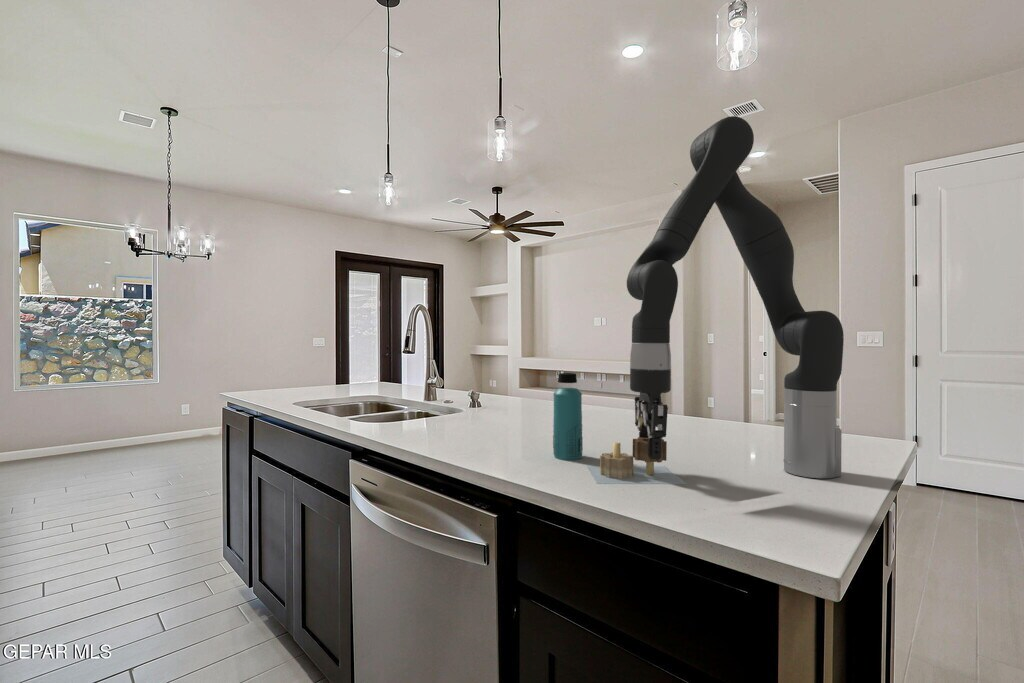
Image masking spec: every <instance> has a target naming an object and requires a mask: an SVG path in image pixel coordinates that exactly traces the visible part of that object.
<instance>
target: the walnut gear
mask: <svg viewBox="0 0 1024 683" xmlns="http://www.w3.org/2000/svg"><path fill="white" fill-rule="evenodd" d="M667 445H668V443H667V441H665V439H664V438H663V439H661V458H660V459H650V458H649V457H648V438H642V437H639V436H638V437H637V438H632V456H633V459H634V460H635V461H642V462H644V463H646V462H649V463H650V462H654V463H663V461H664V462H665V461H666V462H667V456H668V455H667V451H668V450H667V448H668V447H667Z"/></svg>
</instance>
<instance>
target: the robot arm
mask: <svg viewBox="0 0 1024 683" xmlns="http://www.w3.org/2000/svg"><path fill="white" fill-rule="evenodd" d="M754 136H755V135H754V131H753V129H752V126H751V124H750V123H749V122H748V121H746V120H745V119H744V118H742V117H740V116H733V115H732V116H727V117H723V118H722V119H720V120H718V121H717V122H714V123H713V124H712V125H711V126H709V127H708V128H707V129H706V130H704V131H703V132H701V133H700V134H699V135H698V136H697V137H695V138H694V140H693V141H692V143H691V145H690V149H689V156H690V157H689V158H690V161H691V164H692V167H693V169H694V170H695V174H694V176H693V178H692V179H691V180H690V181H689V183H688V184H687V185H686V187H685V188H684V190H683V191H682V192H681V193H680V195H678V197H677V198H676V199H675V201H674V202H673V203H672V205H671V206H670V208H669V210H668V211H667V212H666V214H665V216H664V217H663V219H662V220H661V222H660V225H659V226H658V228H657V229H656V232H655V234H654V236H653V239H652V240H651V241H650V243H649V244H648V245H647V246H646V247H645V248H644V250H643V251H642V253H641V254H640V255H639V257H638V258H637V259H636V261H635V262H634V263H633V265H632V266H631V268H630V270H629V272H628V275H627V278H626V289H627V292H628V294H629V295H630V296H631V297H632V298H634V299H635V300H638V301H641V306H640V310H639V312H637V313H635V315H634V316H633V318H632V322H631V349H630V355H629V357H630V359H629V362H630V363H629V364H630V365H629V389H630V391H632V392H634V393H639V396H635V397H634V413H635V415H634V418H635V419H634V420H635V421H634V424H635V427H637V431H638V437H642V438H648V457H649V458H650V459H660V458H661V439H664V438H666V437H667V428H668V427H667V426H668V409H669V407H668V404H664V403H663V401H662V394H667V393H670V392H671V390H672V387H671V386H672V377H671V376H672V353H671V352H672V351H671V344H670V343H671V340H670V339H671V337H670V336H671V335H670V334H671V324H670V322H671V319H672V316H673V311H674V308H675V304H676V303H675V302H676V298H677V295H678V288H679V279H678V274H677V270H676V269H675V267H674V266H673V265H674V264H676V263H677V262H678V261H681V260H682V259H683V258H684V257H685V256H686V255H687V254H688V252H689V249H690V248H691V246H692V244H693V242H694V241H695V239H696V238H697V235H698V233H699V231H700V228H702V225H703V223H704V221H705V220H706V218H707V215H708V214H709V212H710V211H711V209H712V208H713V206H714V204H715V205H716V207H717V210H719V213H720V215H721V217H722V218H723V220H724V222H725V224H726V227H727V228H728V230H729V233H730V234H731V237H732V239H733V242H734V243H735V246H736V247H737V251H738V252H739V254H740V256H741V258H742V260H743V263H744V264H745V266H746V269H747V270H748V272H749V273H750V276H751V279H752V281H753V282H754V285H755V287H756V290H757V291H758V295H759V296H760V298H761V300H762V303H763V306H764V308H765V311H766V314H767V316H768V319H769V324H770V325H771V329H772V331H773V335H774V338H775V339H776V341H777V343H778V345H779V346H780V348H781V349H782V350H783V351H785V352H786V353H787V354H789V355H793V356H799V359H798V360H799V361H798V365H797V367H796V368H795V369H794V370H793V371H791V372H789V373H786V375H785V376H784V379H783V380H784V381H783V382H784V383H783V384H784V385H783V387H784V388H783V392H784V393H783V400H784V401H783V402H784V403H783V411H784V412H783V418H784V419H783V422H784V423H783V470H784V471H785V472H787V473H789V474H791V475H795V476H800V477H804V478H811V479H812V478H813V479H833V478H836V477H842V439H843V438H842V434H843V433H842V429H841V428H840V427H837V423H838V422H837V417H838V416H837V410H838V409H837V408H838V406H837V405H838V404H837V402H838V397H837V396H838V395H837V394H838V392H837V390H838V389H837V388H838V383H839V380H840V377H841V376H842V371H843V357H844V340H845V339H844V328H843V326H842V323H841V320H840V319H839V317H838V316H837V315H836V314H834V313H832V312H830V311H827V310H812V311H811V310H810V311H806V310H805V309H804V308H803V306H802V304H801V302H800V300H799V298H798V296H797V293H796V291H795V288H794V280H793V278H794V277H793V275H794V263H795V253H794V252H795V251H794V247H793V243H792V241H791V239H790V236H789V234H788V232H787V230H786V228H785V226H784V223H783V221H782V220H781V218H780V217H779V216H778V215H777V213H775V212H774V210H772V209H771V208H770V207H769V206H768V205H766V204H765V203H763V202H762V201H761V200H760V199H758V198H757V197H755V196H754V195H753V194H752V193H751V192H750V191H749V190H748V189H747V188H746V187H745V185H744V184H743V181H742V180H741V178H740V176H739V174H738V172H737V171H738V170H739V168H740V167H741V165H743V163H744V162H745V161H746V159H747V157H748V156H749V155H750V154H751V151H752V149H753V147H754V140H755V137H754ZM656 428H657V429H656Z"/></svg>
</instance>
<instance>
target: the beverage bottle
mask: <svg viewBox="0 0 1024 683" xmlns="http://www.w3.org/2000/svg"><path fill="white" fill-rule="evenodd" d="M557 378H558V379H557V382H558V383H560V384H577V382H578V379H577V374H576V373H573V372H561V373H558V377H557ZM552 396H553V431H552V432H553V434H552V448H553V456H554V458H555V459H557V460H563V461H575V460H581V459H582V457H583V449H584V448H583V447H584V446H583V438H584V437H583V411H582V409H583V408H582V407H583V405H582V401H583V400H582V399H583V398H582V396H583V393H582V392H581V391H580V390H579V389H578V388H577V387H576V388H574V387H558V388H557V389H556V390H555V391H554V392H553V395H552Z"/></svg>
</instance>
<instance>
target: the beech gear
mask: <svg viewBox="0 0 1024 683" xmlns="http://www.w3.org/2000/svg"><path fill="white" fill-rule="evenodd" d="M599 466H600V474H601V475H605V476H606V477H607V478H611V477H612V478H618V479H622V478H631V477H632V475H633V466H634V458H633V455H629V454H628V453H626V452H625V453H624V452H623V453H621V452H620V458H613V451H611V452H609V453H606V452H603V453H601V455H599Z"/></svg>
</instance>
